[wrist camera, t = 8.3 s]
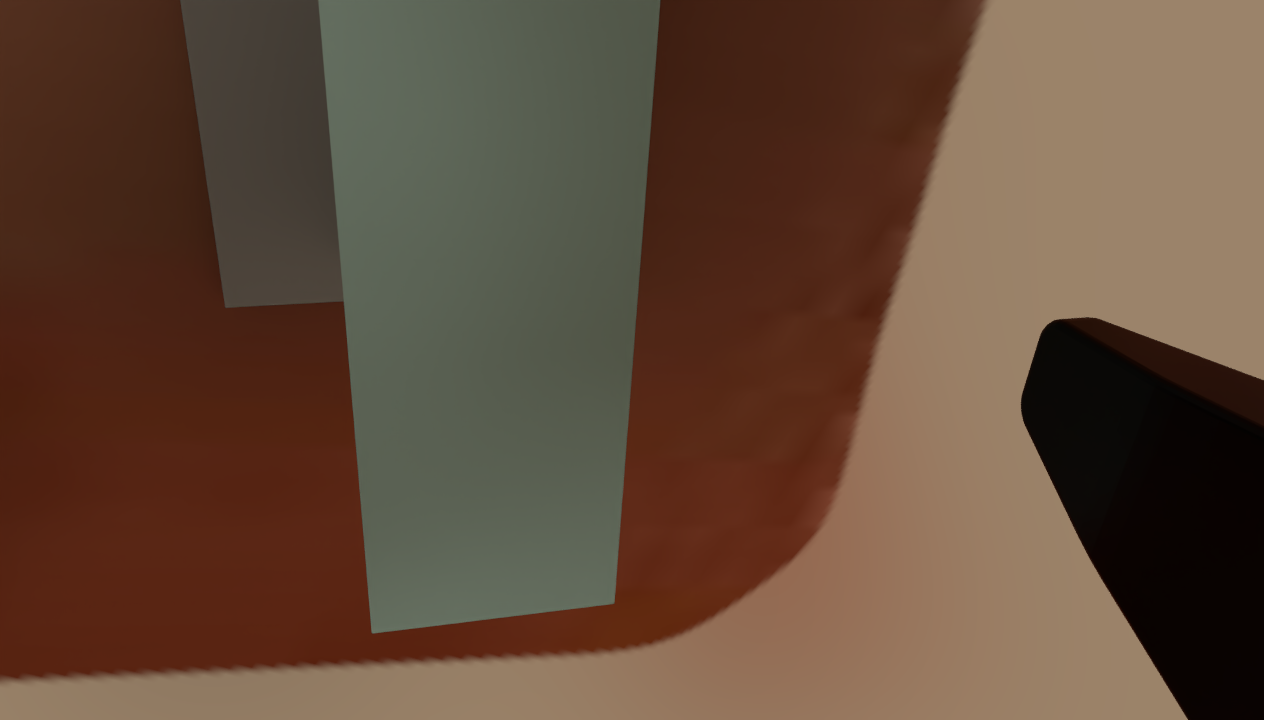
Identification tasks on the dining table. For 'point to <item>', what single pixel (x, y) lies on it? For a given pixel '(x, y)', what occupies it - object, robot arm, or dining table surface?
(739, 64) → the dining table surface
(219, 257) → the mat
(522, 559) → the panel
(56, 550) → the dining table surface
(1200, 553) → the robot arm
